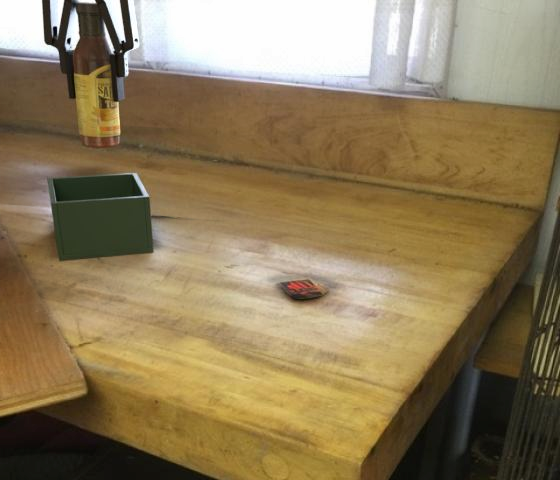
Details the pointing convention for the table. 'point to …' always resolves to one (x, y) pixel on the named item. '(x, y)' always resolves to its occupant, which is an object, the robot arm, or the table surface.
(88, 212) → the bin
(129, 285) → the table surface
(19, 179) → the table surface
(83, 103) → the sauce bottle
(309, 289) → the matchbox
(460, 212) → the table surface
